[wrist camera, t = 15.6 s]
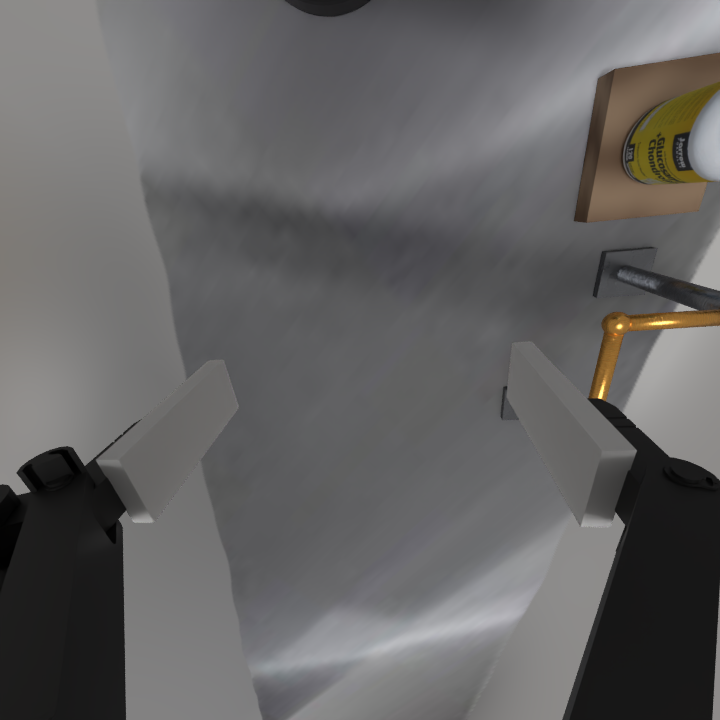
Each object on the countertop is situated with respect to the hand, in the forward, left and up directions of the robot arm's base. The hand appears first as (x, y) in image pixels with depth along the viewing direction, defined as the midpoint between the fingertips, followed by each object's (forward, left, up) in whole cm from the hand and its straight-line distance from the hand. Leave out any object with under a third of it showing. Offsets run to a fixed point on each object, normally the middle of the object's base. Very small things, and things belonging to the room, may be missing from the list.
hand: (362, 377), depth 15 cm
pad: (-9, +26, -27) cm, 38 cm away
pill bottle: (-9, +26, -24) cm, 37 cm away
